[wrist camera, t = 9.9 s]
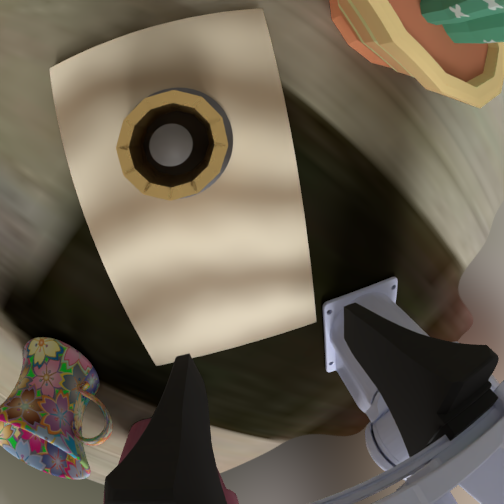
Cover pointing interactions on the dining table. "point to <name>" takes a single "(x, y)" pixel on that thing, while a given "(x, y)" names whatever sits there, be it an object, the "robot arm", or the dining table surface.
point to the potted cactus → (431, 42)
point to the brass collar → (135, 156)
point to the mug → (52, 409)
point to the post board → (197, 205)
